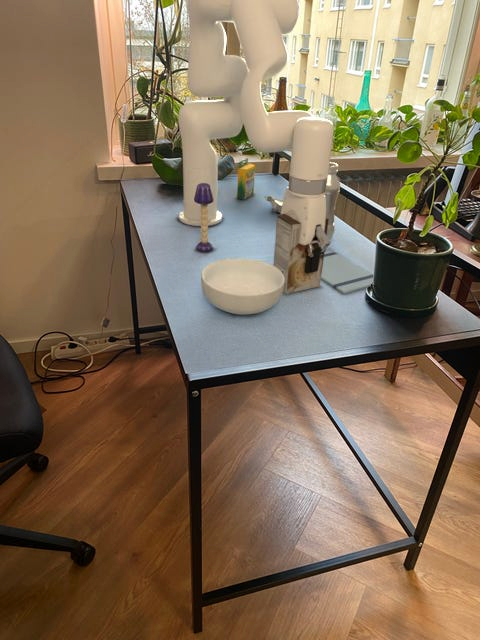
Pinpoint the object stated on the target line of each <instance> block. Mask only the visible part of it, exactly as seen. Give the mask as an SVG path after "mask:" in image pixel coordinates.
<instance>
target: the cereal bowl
mask: <svg viewBox="0 0 480 640" xmlns="http://www.w3.org/2000/svg"><path fill="white" fill-rule="evenodd" d="M200 284H201V285H200V286H201V290H202V293H203V295H204V296H205V298H206V300H207V301H208V302H210V304H211V305H212V306H214V307H215V308H217V309H219V310H221V311H224V312H227V313H229V314H233V315H237V316H247V315H252V314H253V315H254V314H259V313H263V312H265V311H268V310H270V309H271V308H273V307H274V306H275V305H277V303H278V302H279V301H280V299H281V297H282V296H283V294H284V292H283V290H284V284H285V278H284V275H283V273H282V272H281V271H280V270H279V269H277V268H276V267H274V266H273V264H270V263H268V262H265V261H261V260H258V259H252V258H226V259H225V258H224V259H220V260H215V261H213V262H210V263H209V264H208V265H206V266H205V267H204V268H203V269H202V271H201V276H200Z"/></svg>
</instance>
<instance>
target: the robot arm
mask: <svg viewBox="0 0 480 640" xmlns="http://www.w3.org/2000/svg"><path fill="white" fill-rule="evenodd" d="M186 3H187V15H188V21H189V28H190V35H189V48H188V63H187V88H188V90H189V92H190V94H191V95H193V96H195V97H198V98H222V99H213V100H212V99H208V100H207V99H206V100H193V101H188V102H186V103H184V104H183V105H182V106H181V107H180V108H179V111H178V115H177V121H178V127H179V133H180V139H181V146H182V147H181V148H182V181H183V182H182V183H183V185H182V187H183V199H182V204H183V210H181V211H180V212H179V213H178V220H179V221H180V222H181V223H183V224H184V225H185V224H186V225H188V226H193V227H201V220H202V219H201V205H200V204H198V203H196V202H195V201H194V197H195V193H196V189H197V185H198V184H200V183H207V184H209V185H210V187H211V191H212V195H213V202H212V203H210V204H208V207H207V208H208V213H207V214H208V219H207V220H208V225H207V226H208V227H210V226H215V225H217V224H219V223H221V222H222V220H223V214H222V212H220V211H219V210H218V179H219V178H218V177H219V176H218V174H219V170H218V168H219V160H218V153H217V151H216V149H215V148H214V147H213V145H212V144H211V140H218V139H230V138H234V137H237V136H238V135H239V134H240V133H241V132H242V129H243V127H244V130H245V133H246V136H247V139H248V141H249V143H250V145H251V146H252V148H253V149H254V150H256V151H257V152H259V153H263V154H270V153H279V152H291V155H290V166H289V175H288V178H289V179H288V186H287V187H286V189H285V191H284V195H283V198H282V200H283V203H282V209H281V213H280V214H286V215H288V216H290V217H292V218H293V219H295V220H297V221H298V222H300V223H301V231H300V239H299V243H300V244H301V245H306V247H307V250H308V254H309V255H307V256H306V263H305V273H306V274H308V273H312V272H316V271H318V267H319V260H320V255H322V254H323V253H324V252H325V251H326V249H329V246H330V245H331V240H329V239H328V237H327V236H326V234H325V232H324V229H325V220H326V196H325V192H326V184H327V177H328V170H329V163H331V156H332V155H331V154H332V147H333V140H334V132H335V126H334V124H333V122H332V121H331V120H329V119H326V118H322V117H316V116H315V115H313V113H310V112H308V111H306V110H299V109H298V110H276V111H267V110H266V106H265V103H264V100H263V97H262V84H263V83H264V82H266V81H268V80H270V79H272V78H273V77H275V76H276V75H278V74H280V73H281V71H282V70H284V69H285V67H286V66H287V64H288V62H289V52H288V49H287V46H286V43H285V40H284V37H283V35H288V34H290V33H292V32H293V31H294V30H295V28H296V27H297V24H298V21H299V18H300V7H299V1H298V0H187V1H186ZM222 22H223V23H224V22H225V23H233V25H234V28H235V33H236V34H237V35H236V36H237V38H238V41H239V45H240V48H241V51H242V54H243V58H242V57H241V56H239V55H236V54H226V47H227V34H226V31H225V28H224V25H223V23H222ZM313 237H315V240H314V241H312V239H313ZM312 244H315V247H316V248H315V249H314V250H313V247H312Z"/></svg>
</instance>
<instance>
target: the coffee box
mask: <svg viewBox="0 0 480 640" xmlns="http://www.w3.org/2000/svg"><path fill="white" fill-rule="evenodd" d="M328 221H329V218H327V217H326V220H325V229H324V232H325V234H326V236H327V229H328ZM275 224H276V225H275V239H274V252H273V264H272V265H273V266H274V267H276V268H277V269H279V270H280V271H281V272H282V273H283V275H284V278H285V284H284V290H283V294H286V295H288V294H293V293H297V292H301V291H305V290H310V289H314V288H319V287H321V282H322V279H321V274H322V267H323V259H324V253H323V254H322V255H320V260H319V267H318V271H316V272H312V273H308V274H306V273H305V263H306V256H307V255H309V254H308V250H307V247H306V245H301V244H300V243H299V239H300V231H301V223H300V222H298V221H297V220H295V219H293V218H292V217H290V216H288V215H286V214H281V213H280V214H276V223H275ZM314 240H315V237H313V239H312V241H314ZM312 247H313V250H314V249H315V248H316V247H315V244H312Z"/></svg>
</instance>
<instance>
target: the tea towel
mask: <svg viewBox="0 0 480 640" xmlns="http://www.w3.org/2000/svg"><path fill="white" fill-rule="evenodd" d="M373 275H374V273H371V272H369V271H368V270H366V269H364V268H362V267H361V266H359V265H357V264H356V263H354V262H352V261H350V260H348V259H347V258H345V257H343V256H342V255H340V254H338V253H337V252H335V251H334V250H332V249H329V248H327V249H326V251H325V252H324V259H323V267H322V274H321V281H324V282H325V283H327V285H329V286H331V287H332V288H334V289H335V290H336V291H338V292H340V293H341V294H343V295H344V294H347V293H351V292H355V291H358V290H362V289H366V288H370V287H372V286H371V284H372V281H373Z"/></svg>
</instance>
